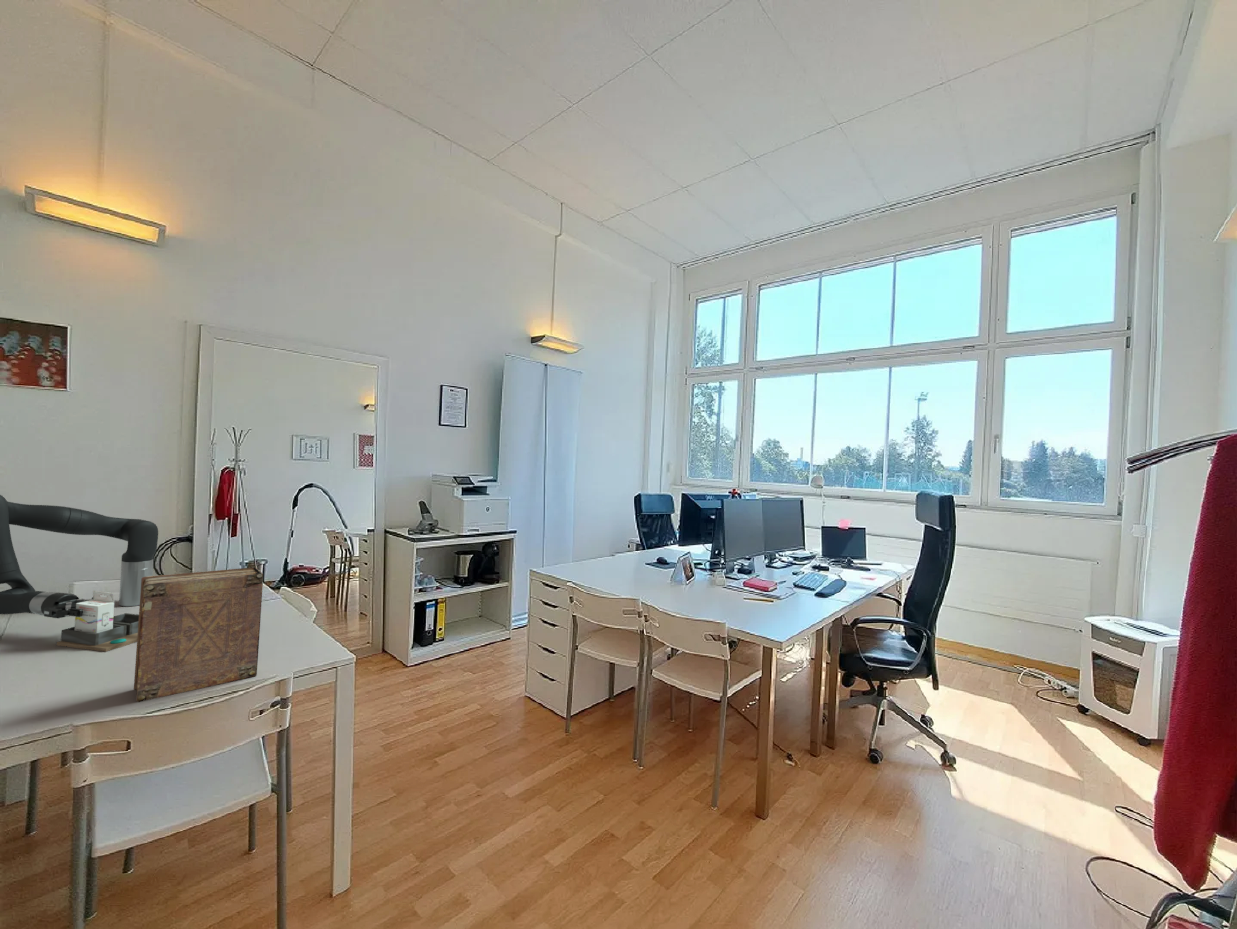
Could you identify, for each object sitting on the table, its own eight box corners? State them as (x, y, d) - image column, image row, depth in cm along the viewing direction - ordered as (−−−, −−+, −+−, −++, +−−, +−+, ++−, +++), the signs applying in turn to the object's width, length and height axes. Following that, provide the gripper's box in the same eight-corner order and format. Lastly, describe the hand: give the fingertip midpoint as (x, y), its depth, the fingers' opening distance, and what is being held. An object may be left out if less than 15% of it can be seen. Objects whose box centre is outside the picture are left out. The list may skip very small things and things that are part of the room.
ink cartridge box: (72, 640, 157) (75, 593, 157) (90, 634, 162) (93, 590, 162) (95, 643, 156) (98, 596, 156) (113, 637, 161) (116, 592, 161)
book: (135, 703, 125) (142, 584, 125) (133, 689, 132) (140, 577, 132) (257, 676, 144) (263, 572, 143) (250, 665, 150) (256, 566, 150)
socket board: (127, 625, 175) (128, 612, 175) (172, 630, 173) (172, 617, 173) (56, 645, 155) (57, 631, 155) (106, 651, 153) (107, 637, 153)
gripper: (26, 598, 154) (71, 603, 152) (81, 587, 169) (122, 592, 167) (25, 622, 154) (69, 628, 152) (80, 609, 169) (121, 614, 167)
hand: (97, 609), depth 160 cm, fingers open, 8 cm apart
